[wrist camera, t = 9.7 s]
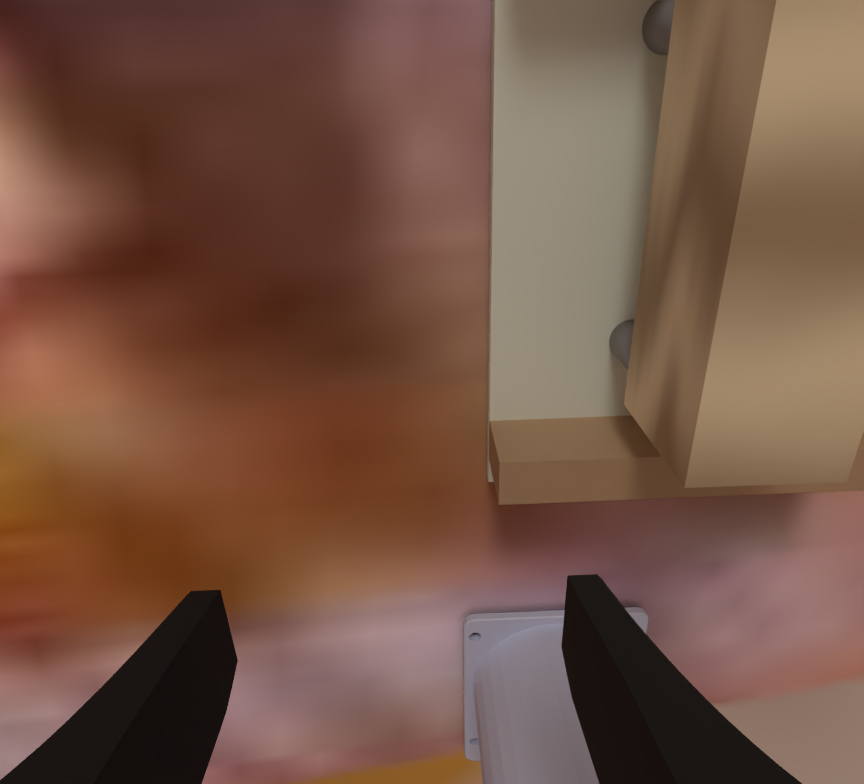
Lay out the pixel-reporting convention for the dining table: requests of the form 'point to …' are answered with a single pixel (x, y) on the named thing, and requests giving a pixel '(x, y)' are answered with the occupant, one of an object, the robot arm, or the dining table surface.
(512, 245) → the peg plate
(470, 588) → the dining table surface
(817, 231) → the tan wooden block
